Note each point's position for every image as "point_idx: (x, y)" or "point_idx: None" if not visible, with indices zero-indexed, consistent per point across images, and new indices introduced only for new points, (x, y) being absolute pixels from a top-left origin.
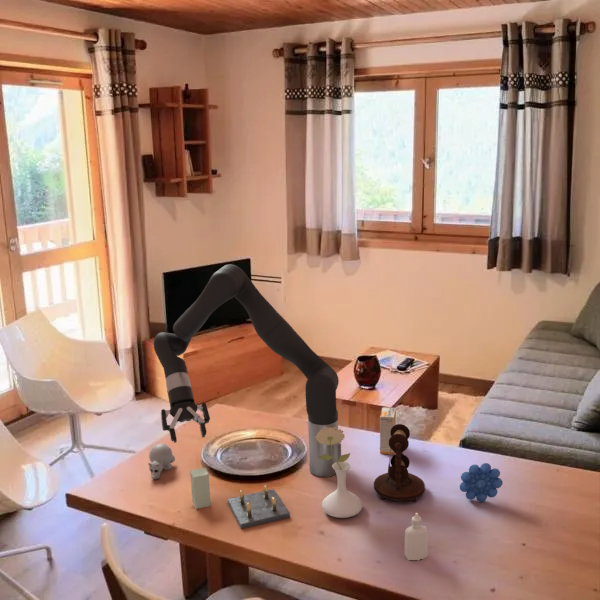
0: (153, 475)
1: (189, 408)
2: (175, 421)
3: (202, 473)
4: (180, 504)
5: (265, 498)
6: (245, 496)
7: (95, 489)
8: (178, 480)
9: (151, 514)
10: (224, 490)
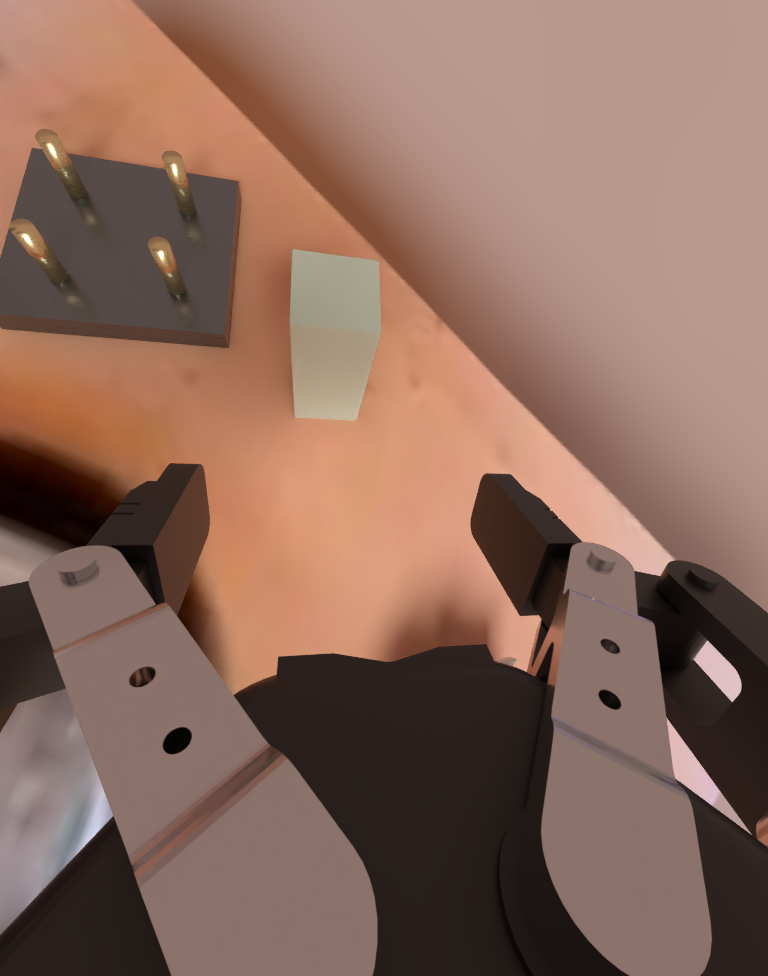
0: (503, 659)
1: (253, 927)
2: (585, 595)
3: (322, 272)
4: (403, 421)
5: (68, 266)
6: (144, 316)
7: (711, 676)
8: (382, 621)
9: (505, 405)
10: (205, 445)
